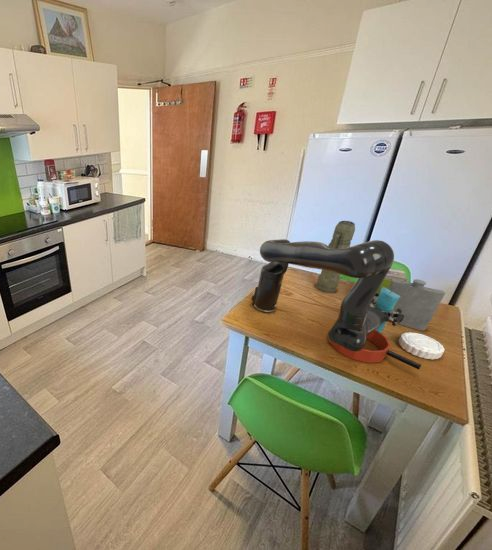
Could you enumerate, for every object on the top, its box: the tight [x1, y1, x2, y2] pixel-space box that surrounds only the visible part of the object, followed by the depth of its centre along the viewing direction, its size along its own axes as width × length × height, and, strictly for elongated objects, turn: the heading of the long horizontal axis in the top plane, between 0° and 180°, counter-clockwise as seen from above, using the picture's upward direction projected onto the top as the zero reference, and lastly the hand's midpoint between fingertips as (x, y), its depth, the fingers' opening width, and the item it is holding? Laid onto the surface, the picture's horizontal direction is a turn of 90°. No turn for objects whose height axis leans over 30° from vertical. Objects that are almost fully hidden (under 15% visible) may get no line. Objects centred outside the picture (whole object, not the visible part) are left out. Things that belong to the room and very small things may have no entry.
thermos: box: [315, 220, 356, 294], centre depth 143 cm, size 9×12×35 cm
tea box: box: [373, 268, 409, 304], centre depth 138 cm, size 15×10×15 cm, turn 59°
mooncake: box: [398, 331, 446, 360], centre depth 110 cm, size 12×12×4 cm
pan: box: [329, 330, 422, 370], centre depth 108 cm, size 26×17×5 cm, turn 34°
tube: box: [374, 286, 400, 334], centre depth 116 cm, size 7×5×19 cm, turn 12°
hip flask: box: [388, 278, 446, 331], centre depth 120 cm, size 16×4×20 cm, turn 45°
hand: (385, 305), depth 116 cm, fingers open, 8 cm apart
